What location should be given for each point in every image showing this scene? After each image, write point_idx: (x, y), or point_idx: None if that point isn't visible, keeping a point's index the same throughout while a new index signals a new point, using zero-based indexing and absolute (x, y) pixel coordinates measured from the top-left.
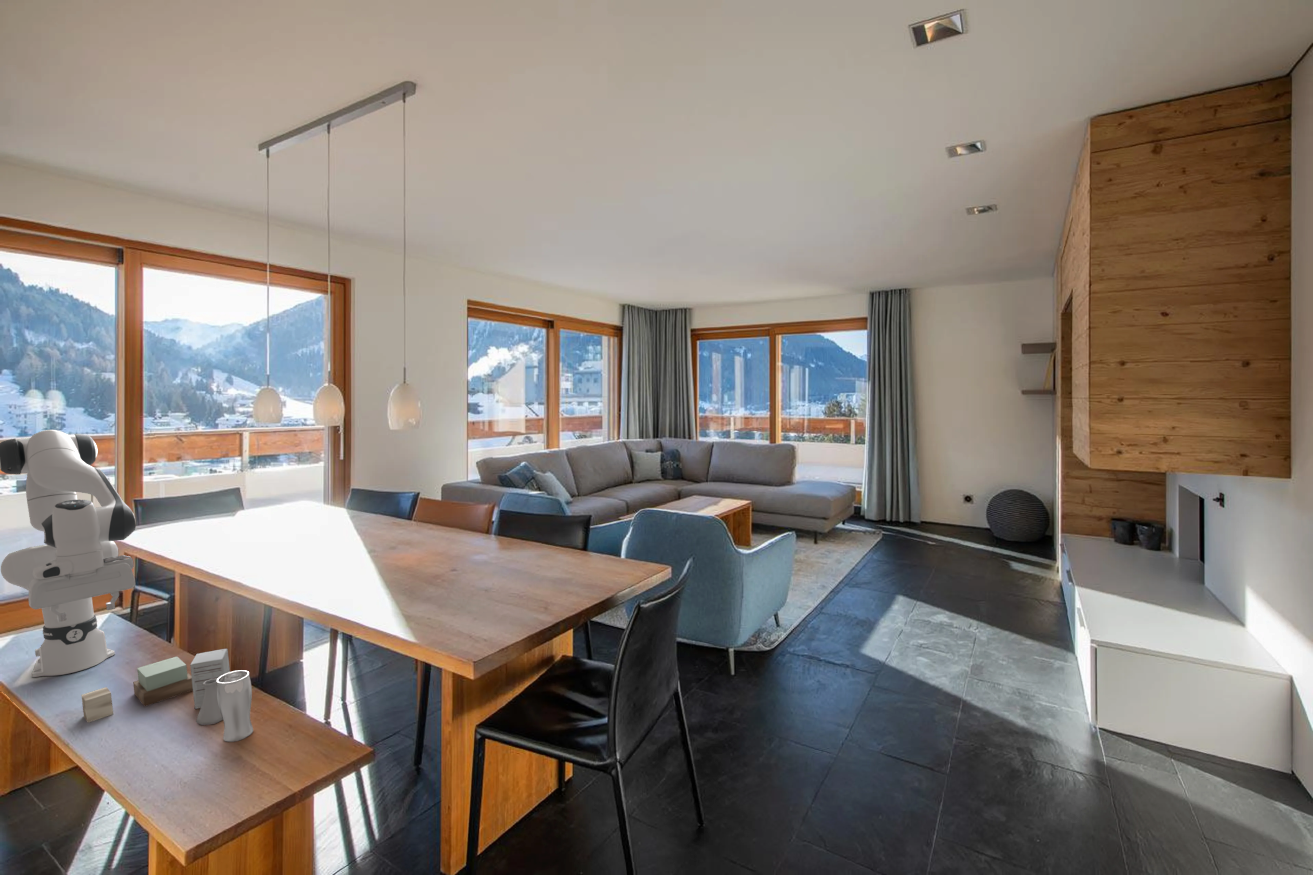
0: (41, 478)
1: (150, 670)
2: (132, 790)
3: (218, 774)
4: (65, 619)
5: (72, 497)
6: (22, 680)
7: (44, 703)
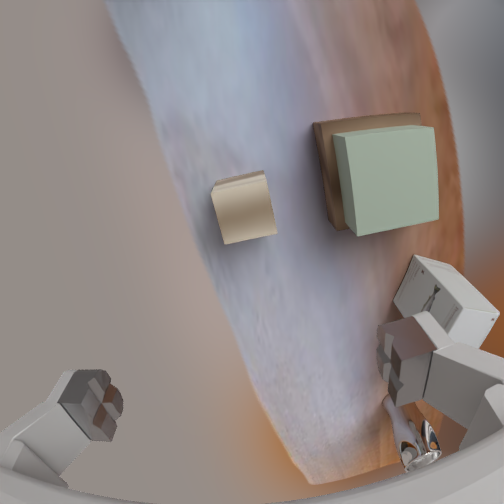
0: None
1: (372, 189)
2: (288, 438)
3: (353, 444)
4: (118, 408)
5: None
6: None
7: (132, 41)
